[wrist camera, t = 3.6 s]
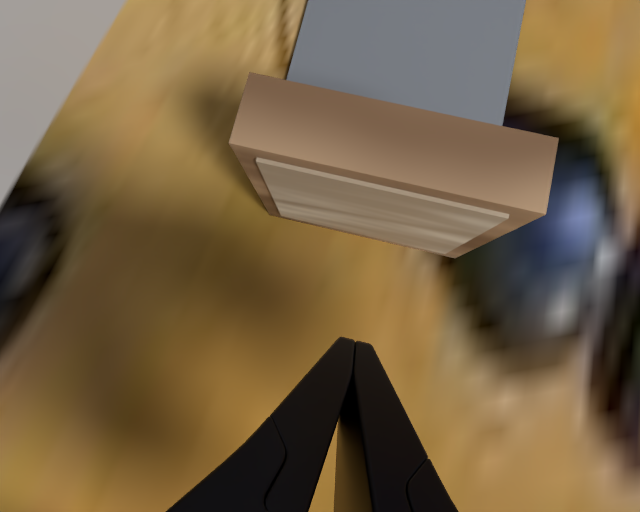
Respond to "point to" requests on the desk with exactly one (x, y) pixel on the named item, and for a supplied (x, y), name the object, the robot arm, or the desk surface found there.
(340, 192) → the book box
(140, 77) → the desk surface
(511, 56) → the grey square plate
